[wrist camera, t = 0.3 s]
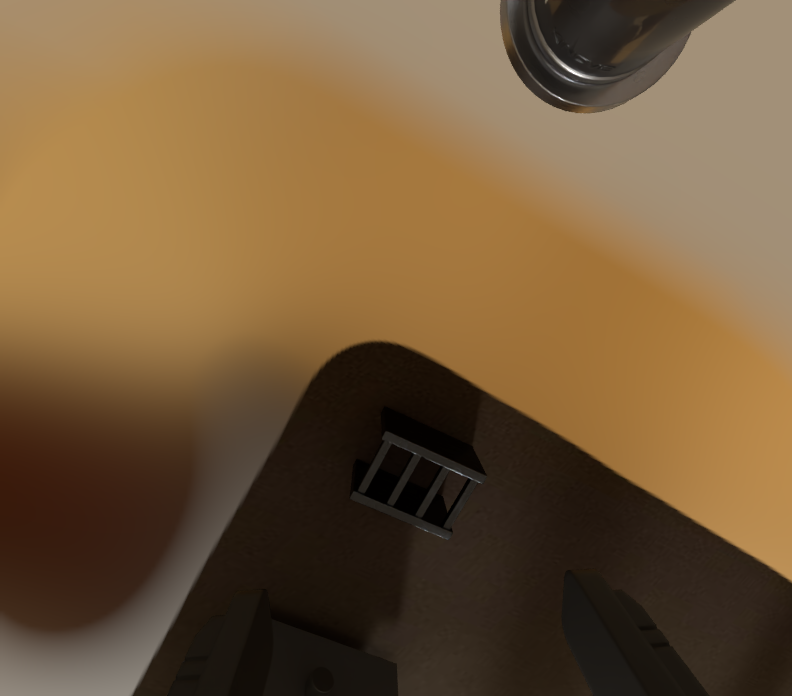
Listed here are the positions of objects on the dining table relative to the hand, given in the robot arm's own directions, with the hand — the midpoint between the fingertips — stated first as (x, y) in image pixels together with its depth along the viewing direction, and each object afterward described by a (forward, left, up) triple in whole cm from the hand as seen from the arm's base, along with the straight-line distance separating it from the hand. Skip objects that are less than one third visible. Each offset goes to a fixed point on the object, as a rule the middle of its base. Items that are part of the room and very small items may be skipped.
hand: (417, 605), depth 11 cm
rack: (+4, +3, -17) cm, 18 cm away
